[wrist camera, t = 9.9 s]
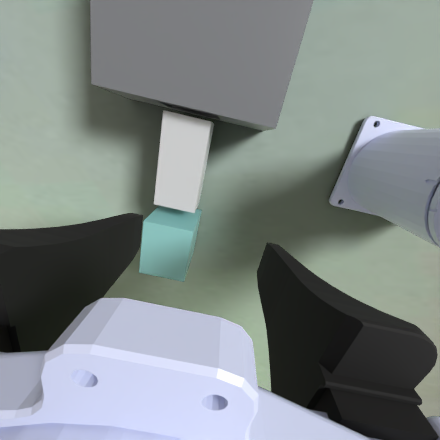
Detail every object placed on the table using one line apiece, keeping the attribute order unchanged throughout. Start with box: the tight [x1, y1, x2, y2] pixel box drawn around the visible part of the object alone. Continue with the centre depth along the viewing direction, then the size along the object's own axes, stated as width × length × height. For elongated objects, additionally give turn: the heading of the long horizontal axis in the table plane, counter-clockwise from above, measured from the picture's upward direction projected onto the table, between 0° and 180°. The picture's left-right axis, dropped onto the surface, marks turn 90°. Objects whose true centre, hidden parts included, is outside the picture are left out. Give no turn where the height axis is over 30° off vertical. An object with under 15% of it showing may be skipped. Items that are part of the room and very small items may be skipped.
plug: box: [139, 110, 214, 282], centre depth 18 cm, size 4×13×5 cm, turn 167°
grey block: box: [90, 0, 313, 131], centre depth 14 cm, size 12×10×5 cm
